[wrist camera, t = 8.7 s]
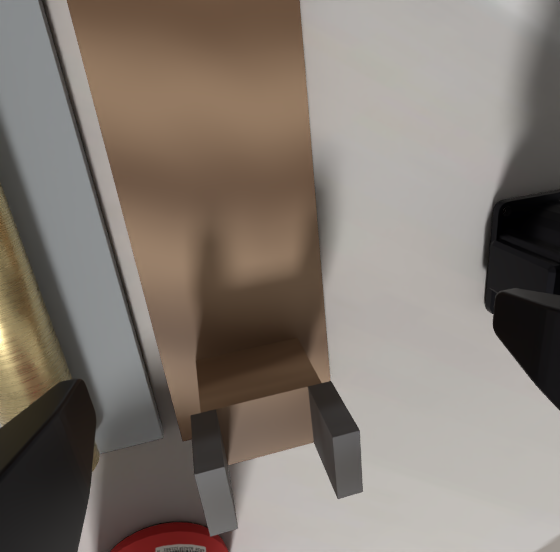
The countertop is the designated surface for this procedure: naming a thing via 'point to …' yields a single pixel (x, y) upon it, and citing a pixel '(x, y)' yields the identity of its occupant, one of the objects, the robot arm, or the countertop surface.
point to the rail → (24, 329)
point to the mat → (68, 230)
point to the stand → (222, 225)
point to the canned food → (172, 539)
